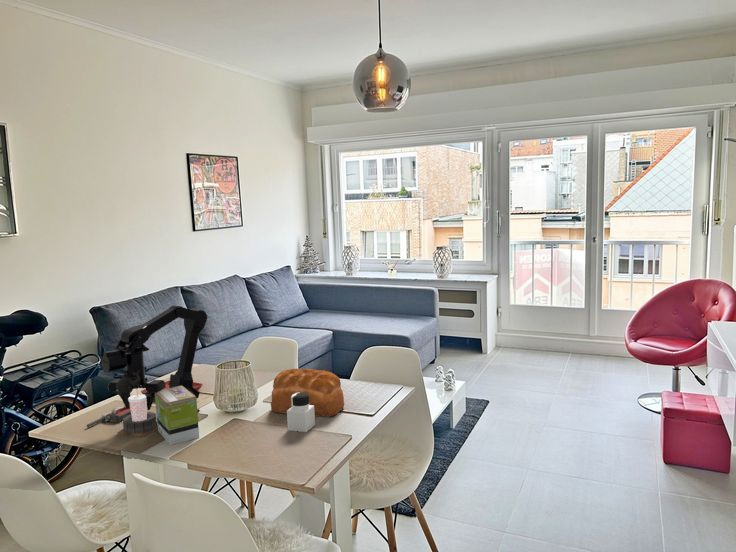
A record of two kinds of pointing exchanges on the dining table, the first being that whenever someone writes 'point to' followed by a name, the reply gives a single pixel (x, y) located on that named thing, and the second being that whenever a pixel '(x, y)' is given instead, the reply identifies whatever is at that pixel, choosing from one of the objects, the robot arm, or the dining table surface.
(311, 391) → the bread
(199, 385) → the plant saucer
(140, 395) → the beverage cup
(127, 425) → the cup holder
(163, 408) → the tea box
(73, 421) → the dining table surface
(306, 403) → the medicine bottle
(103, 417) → the walkie-talkie
